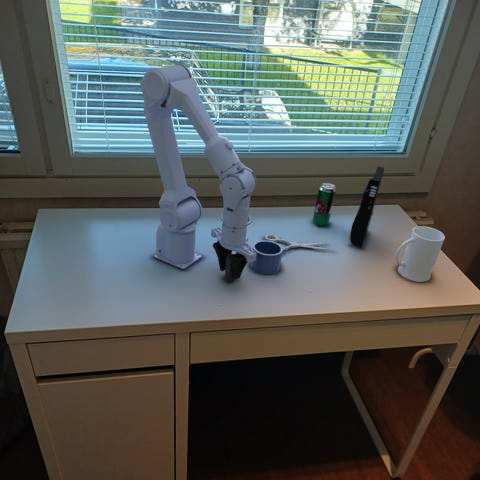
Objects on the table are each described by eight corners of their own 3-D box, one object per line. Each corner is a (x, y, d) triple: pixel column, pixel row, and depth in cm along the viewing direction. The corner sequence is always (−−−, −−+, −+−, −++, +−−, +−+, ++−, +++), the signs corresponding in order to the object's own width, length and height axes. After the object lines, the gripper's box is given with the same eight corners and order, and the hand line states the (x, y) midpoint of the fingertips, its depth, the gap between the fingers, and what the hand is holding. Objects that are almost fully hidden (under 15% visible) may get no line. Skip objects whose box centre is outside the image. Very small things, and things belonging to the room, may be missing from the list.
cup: (245, 267, 121) (247, 248, 118) (259, 255, 127) (262, 237, 123) (271, 277, 118) (274, 258, 115) (284, 265, 124) (287, 246, 120)
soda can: (329, 227, 144) (338, 190, 137) (313, 226, 144) (320, 188, 137) (327, 220, 148) (335, 183, 141) (311, 218, 148) (318, 181, 141)
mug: (395, 282, 122) (409, 241, 115) (381, 265, 129) (394, 225, 121) (436, 281, 124) (452, 241, 117) (420, 264, 131) (435, 225, 124)
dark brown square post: (224, 278, 116) (226, 255, 112) (230, 276, 117) (232, 253, 113) (228, 281, 115) (231, 258, 111) (234, 279, 116) (237, 256, 112)
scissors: (259, 234, 135) (327, 236, 137) (259, 236, 135) (326, 238, 138) (264, 253, 126) (336, 254, 129) (264, 255, 127) (336, 257, 129)
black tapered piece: (362, 249, 135) (381, 181, 123) (346, 245, 136) (364, 178, 124) (368, 232, 144) (386, 167, 132) (353, 228, 145) (370, 164, 133)
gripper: (269, 232, 105) (261, 283, 113) (229, 207, 113) (225, 256, 122) (244, 239, 101) (238, 292, 109) (205, 213, 110) (202, 263, 118)
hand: (230, 274), depth 115 cm, fingers open, 4 cm apart
